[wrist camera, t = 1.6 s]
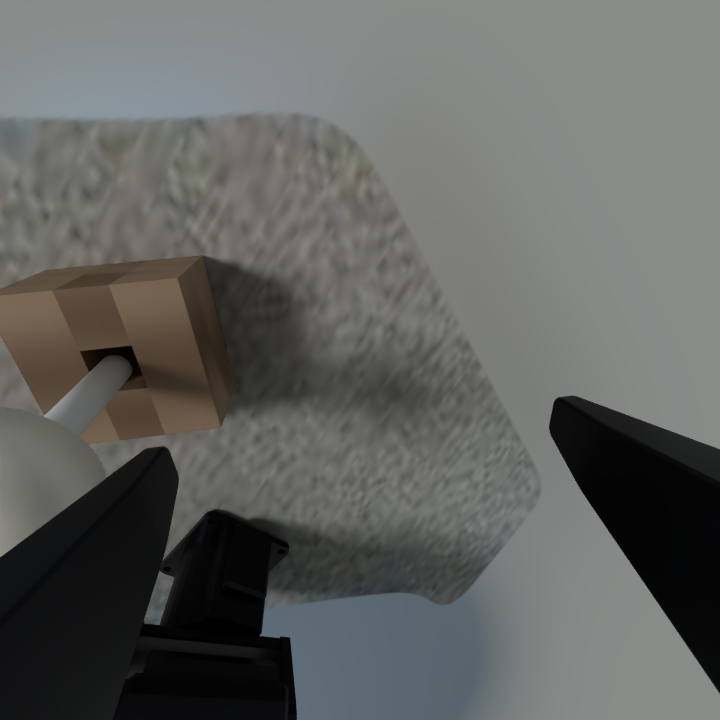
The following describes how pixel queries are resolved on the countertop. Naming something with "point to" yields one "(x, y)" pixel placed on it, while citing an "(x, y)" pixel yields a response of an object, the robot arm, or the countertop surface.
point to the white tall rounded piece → (52, 453)
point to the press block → (124, 343)
